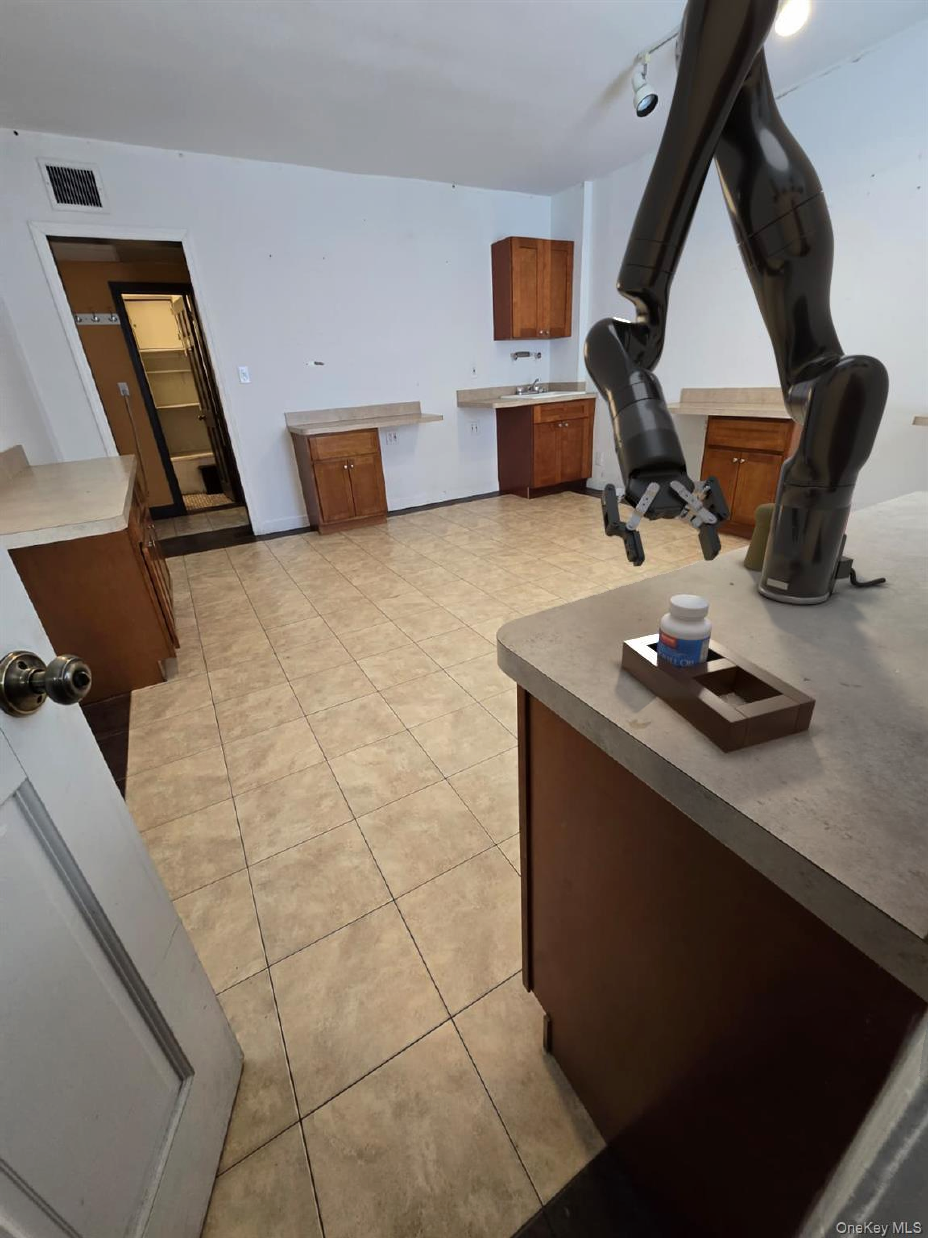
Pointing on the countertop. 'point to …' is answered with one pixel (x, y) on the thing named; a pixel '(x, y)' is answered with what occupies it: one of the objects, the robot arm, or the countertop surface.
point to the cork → (759, 537)
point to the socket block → (724, 672)
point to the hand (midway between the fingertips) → (676, 560)
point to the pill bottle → (685, 631)
